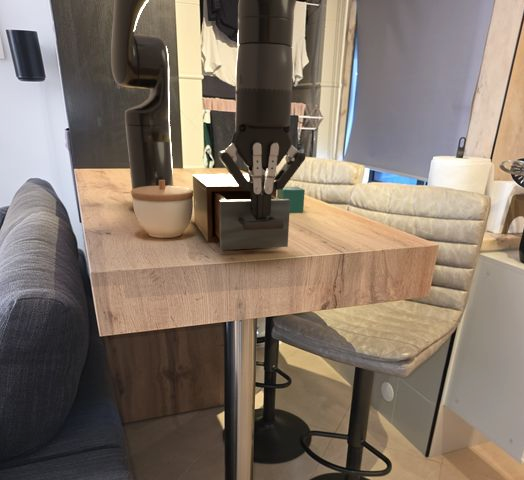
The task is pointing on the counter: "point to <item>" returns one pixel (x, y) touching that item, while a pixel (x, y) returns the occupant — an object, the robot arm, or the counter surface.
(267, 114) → the robot arm
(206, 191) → the cabinet
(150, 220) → the trinket box
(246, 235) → the drawer
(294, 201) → the block
